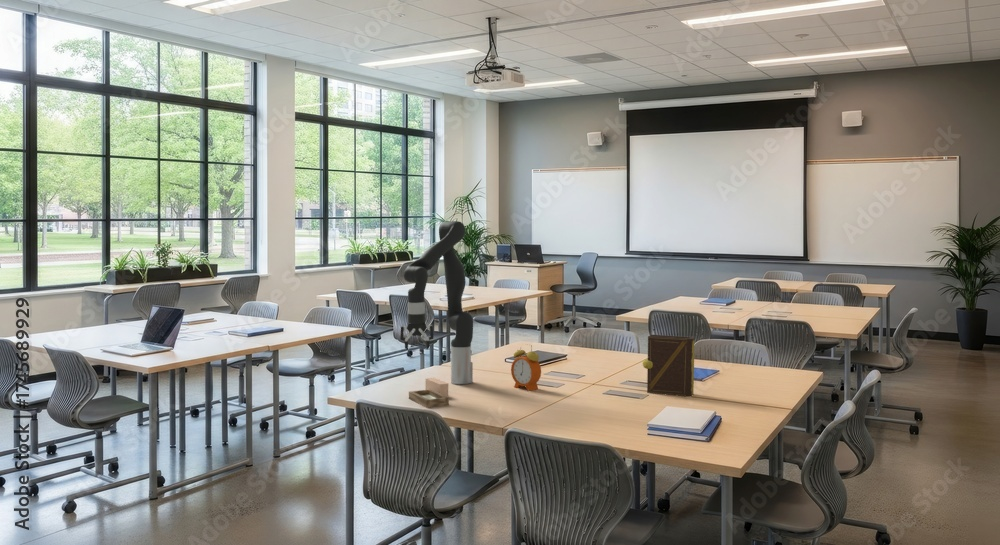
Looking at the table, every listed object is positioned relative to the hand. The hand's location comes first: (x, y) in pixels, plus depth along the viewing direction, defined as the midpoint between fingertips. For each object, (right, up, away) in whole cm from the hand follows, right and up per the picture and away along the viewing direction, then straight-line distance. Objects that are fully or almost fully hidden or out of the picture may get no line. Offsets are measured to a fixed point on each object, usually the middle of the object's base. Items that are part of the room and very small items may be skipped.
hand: (417, 349), depth 335 cm
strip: (+8, -20, +1) cm, 21 cm away
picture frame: (+6, -21, -13) cm, 25 cm away
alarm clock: (+48, -19, +13) cm, 53 cm away
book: (+110, -20, +3) cm, 111 cm away
